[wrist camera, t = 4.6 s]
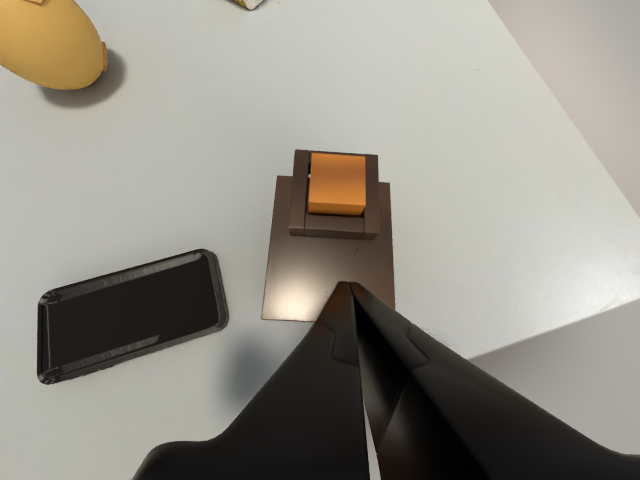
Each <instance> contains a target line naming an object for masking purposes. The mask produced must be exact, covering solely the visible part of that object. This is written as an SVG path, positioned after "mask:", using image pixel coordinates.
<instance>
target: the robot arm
mask: <svg viewBox="0 0 640 480" xmlns="http://www.w3.org/2000/svg"><path fill="white" fill-rule="evenodd" d="M362 394H363V395H362ZM363 398H364V402H365V407H366V411H367V415H368V420H369V424H370V429H371V433H372V437H373V442H374V446H375V450H376V453H377V459H378V464H379V470H380V476H381V480H640V455H630V454H622V453H618V452H615V451H612V450H610V449H608V448H606V447H604V446H601V445H599V444H598V443H596V442H594V441H592V440H591V439H589V438H588V437H586V436H584V435H583V434H581V433H580V432H578V431H577V430H575V429H573V428H572V427H570V426H569V425H567V424H566V423H564V422H563V421H561V420H560V419H558V418H556V417H555V416H553V415H552V414H550V413H548V412H547V411H546V410H544V409H542V408H541V407H539V406H538V405H536V404H534V403H533V402H532V401H530V400H528V399H527V398H525V397H523V396H522V395H521V394H519V393H517V392H516V391H514V390H513V389H511V388H510V387H508V386H507V385H505V384H503V383H502V382H500V381H499V380H497V379H496V378H494V377H492V376H491V375H489V374H488V373H486V372H485V371H483V370H481V369H480V368H478V367H477V366H475V365H474V364H472V363H471V362H469V361H468V360H466V359H465V358H463V357H461V356H460V355H458V354H457V353H455V352H454V351H452V350H451V349H449V348H447V347H446V346H444V345H443V344H441V343H440V342H438V341H437V340H435V339H434V338H432V337H431V336H430V335H428V334H427V333H425V332H424V331H423V330H421V329H420V328H419V327H417V326H416V325H415V324H412V323H411V322H410V321H409V320H407V319H406V318H405V317H403V316H402V315H401V314H399V313H398V312H397V311H395V310H394V309H393V308H391V307H390V306H389V305H387V304H386V303H385V302H383V301H382V300H381V299H379V298H378V297H377V296H375V295H374V294H373V293H371V292H370V291H369V290H367V289H366V288H365V287H363V286H362V285H361V284H359V283H358V282H347V281H338V283H337V285H336V286H335V288H334V290H333V292H332V293H331V295H330V297H329V298H328V300H327V302H326V304H325V305H324V307H323V309H322V311H321V312H320V314H319V316H318V318H317V319H316V321H315V322H314V324H313V326H312V327H311V329H310V330H309V332H308V333H307V335H306V336H305V337H304V338H303V340H302V341H301V342H300V343H299V345H298V346H297V347H296V348H295V349H294V350H293V352H292V353H291V354H290V355H289V356H288V357H287V359H286V360H285V361H284V362H283V363H282V365H281V366H280V367H279V368H278V369H277V370H276V372H275V373H274V374H273V375H272V376H271V377H270V379H269V380H268V381H267V382H266V383H265V385H264V386H263V387H262V388H261V389H260V390H259V392H258V393H257V394H256V395H255V396H254V397H253V399H252V400H251V401H250V402H249V403H248V404H247V406H246V407H245V408H244V409H243V410H242V412H241V413H240V414H239V415H238V416H237V417H236V419H235V420H234V421H233V422H232V423H231V424H230V426H229V427H228V428H227V429H226V430H225V431H224V432H223V433H222V434H220V435H218V436H217V437H215V438H213V439H210V440H208V441H200V442H198V441H175V442H168V443H164V444H161V445H159V446H157V447H155V448H154V449H152V450H151V451H150V452H149V453H148V455H147V456H146V458H145V459H144V461H143V462H142V464H141V466H140V467H139V468H138V470H137V472H136V474H135V475H134V477H133V479H132V480H370V474H369V462H368V451H367V440H366V429H365V417H364V407H363Z"/></svg>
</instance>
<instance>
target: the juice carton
mask: <svg viewBox="0 0 640 480" xmlns="http://www.w3.org/2000/svg"><path fill="white" fill-rule="evenodd" d="M233 1H235V2H237V3H239V4H240V5H242V6H244V7H246V8H248V9H250V10H252V9H254V8H255V7H256V6H257V5H259V4H260V3H261V2H262V1H263V0H233Z"/></svg>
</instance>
